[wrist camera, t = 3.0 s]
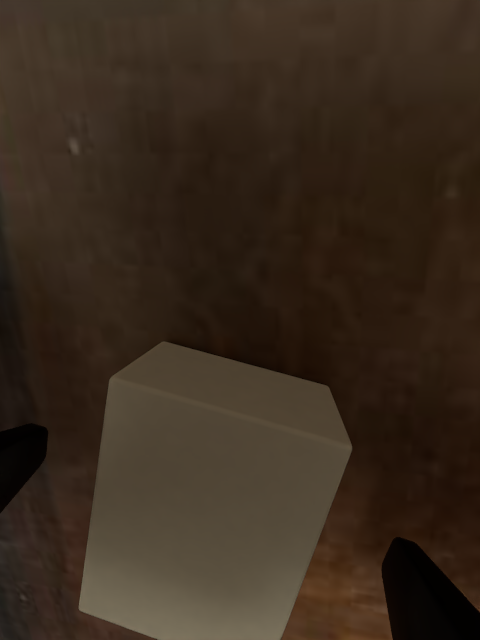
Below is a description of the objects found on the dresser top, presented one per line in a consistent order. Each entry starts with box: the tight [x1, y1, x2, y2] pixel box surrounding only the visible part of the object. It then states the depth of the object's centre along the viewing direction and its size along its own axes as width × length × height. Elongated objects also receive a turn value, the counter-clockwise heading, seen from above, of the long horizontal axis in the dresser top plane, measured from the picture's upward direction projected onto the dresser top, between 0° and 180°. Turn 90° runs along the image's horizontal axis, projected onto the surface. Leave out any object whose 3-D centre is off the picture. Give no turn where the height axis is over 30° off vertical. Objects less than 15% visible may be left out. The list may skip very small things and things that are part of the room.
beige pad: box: [79, 342, 352, 640], centre depth 7 cm, size 4×6×2 cm
